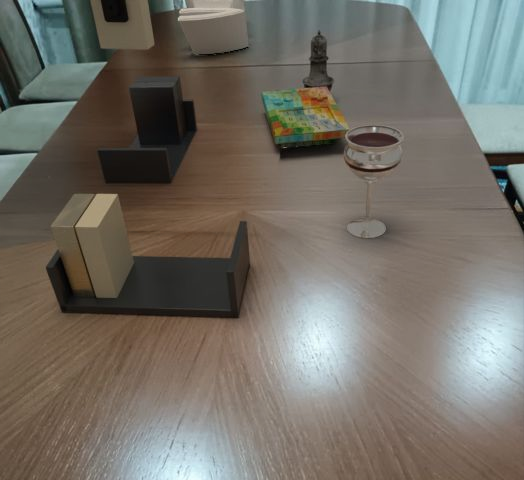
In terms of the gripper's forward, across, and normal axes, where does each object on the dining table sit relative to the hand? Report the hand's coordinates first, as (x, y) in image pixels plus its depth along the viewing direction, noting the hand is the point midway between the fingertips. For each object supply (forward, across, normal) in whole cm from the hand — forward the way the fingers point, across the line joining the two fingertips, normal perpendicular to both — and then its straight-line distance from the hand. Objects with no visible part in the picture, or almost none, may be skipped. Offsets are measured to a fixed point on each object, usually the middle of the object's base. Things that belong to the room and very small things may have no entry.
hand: (122, 17), depth 76 cm
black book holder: (+21, +29, +14) cm, 39 cm away
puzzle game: (+21, -17, +21) cm, 34 cm away
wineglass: (+21, +12, +35) cm, 43 cm away
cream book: (+4, 0, 0) cm, 4 cm away
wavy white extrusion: (+21, -71, -12) cm, 75 cm away
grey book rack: (+21, -3, 0) cm, 21 cm away
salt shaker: (+21, -32, +20) cm, 44 cm away
